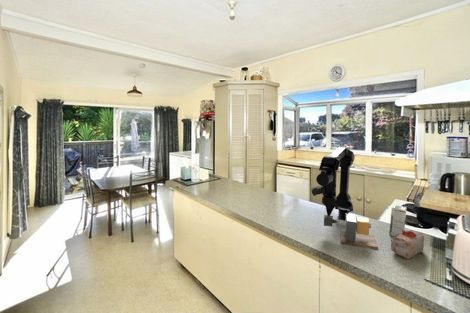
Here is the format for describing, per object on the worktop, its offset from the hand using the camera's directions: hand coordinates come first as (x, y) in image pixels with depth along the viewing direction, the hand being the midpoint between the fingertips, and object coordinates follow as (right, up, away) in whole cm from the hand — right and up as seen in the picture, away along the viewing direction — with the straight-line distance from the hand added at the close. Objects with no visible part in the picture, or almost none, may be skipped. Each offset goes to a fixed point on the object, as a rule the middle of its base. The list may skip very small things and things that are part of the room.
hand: (328, 212), depth 118 cm
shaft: (+8, -6, -2) cm, 10 cm away
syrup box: (+35, -12, +1) cm, 37 cm away
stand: (+13, -13, -4) cm, 18 cm away
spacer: (+14, -8, -5) cm, 17 cm away
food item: (+28, -14, -15) cm, 35 cm away
